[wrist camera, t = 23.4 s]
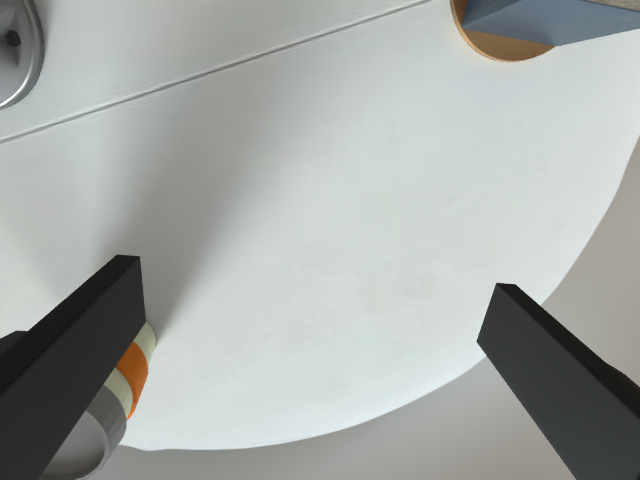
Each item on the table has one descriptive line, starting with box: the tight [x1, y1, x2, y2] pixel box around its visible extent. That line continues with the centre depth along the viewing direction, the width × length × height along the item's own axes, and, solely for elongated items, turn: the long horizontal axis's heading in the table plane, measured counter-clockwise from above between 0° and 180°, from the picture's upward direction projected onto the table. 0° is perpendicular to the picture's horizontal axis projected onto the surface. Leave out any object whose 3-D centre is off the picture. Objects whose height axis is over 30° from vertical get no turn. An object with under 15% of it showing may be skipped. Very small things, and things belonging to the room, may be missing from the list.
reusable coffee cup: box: [38, 321, 156, 480], centre depth 39 cm, size 13×12×15 cm
